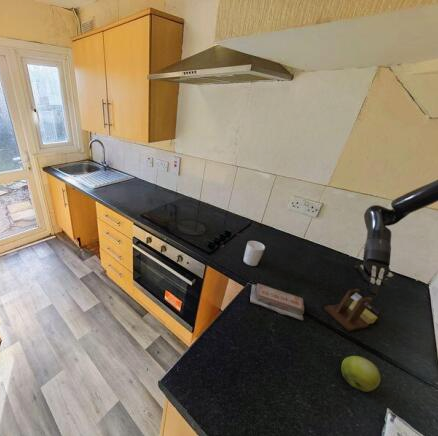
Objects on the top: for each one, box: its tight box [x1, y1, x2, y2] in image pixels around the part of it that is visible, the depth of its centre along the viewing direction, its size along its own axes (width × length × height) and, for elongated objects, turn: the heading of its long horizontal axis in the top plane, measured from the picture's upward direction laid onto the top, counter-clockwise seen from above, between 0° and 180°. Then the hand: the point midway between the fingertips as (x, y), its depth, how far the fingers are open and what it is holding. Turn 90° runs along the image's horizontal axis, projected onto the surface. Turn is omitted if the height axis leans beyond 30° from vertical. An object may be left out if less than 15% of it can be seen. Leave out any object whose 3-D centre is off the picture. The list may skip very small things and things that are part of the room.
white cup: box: [243, 240, 266, 267], centre depth 110 cm, size 8×8×10 cm
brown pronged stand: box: [323, 288, 373, 332], centre depth 82 cm, size 9×10×12 cm
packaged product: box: [249, 283, 305, 321], centre depth 88 cm, size 18×5×10 cm
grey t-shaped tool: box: [351, 293, 382, 317], centre depth 83 cm, size 15×6×2 cm
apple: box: [340, 355, 382, 393], centre depth 63 cm, size 8×9×8 cm
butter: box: [349, 300, 378, 325], centre depth 86 cm, size 4×8×3 cm, turn 13°
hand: (372, 294), depth 87 cm, fingers closed
